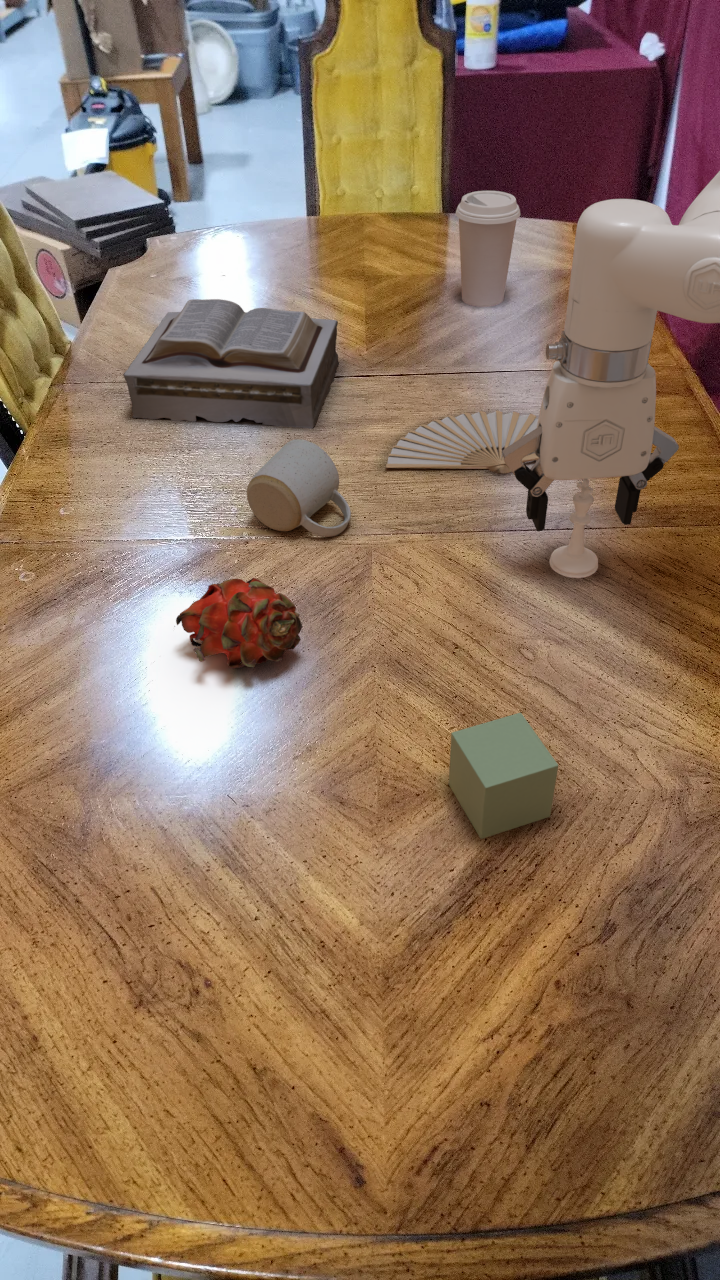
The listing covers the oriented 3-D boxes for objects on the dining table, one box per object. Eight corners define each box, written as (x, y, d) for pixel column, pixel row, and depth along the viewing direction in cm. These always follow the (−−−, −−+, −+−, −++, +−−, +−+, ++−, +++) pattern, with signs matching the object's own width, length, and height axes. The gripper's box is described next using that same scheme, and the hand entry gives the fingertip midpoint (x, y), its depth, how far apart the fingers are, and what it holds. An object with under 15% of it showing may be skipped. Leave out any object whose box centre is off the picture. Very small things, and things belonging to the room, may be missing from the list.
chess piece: (573, 584, 99) (586, 499, 93) (539, 561, 102) (549, 477, 96) (608, 566, 101) (623, 482, 95) (573, 544, 104) (585, 461, 98)
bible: (189, 342, 145) (180, 275, 139) (363, 366, 138) (362, 296, 131) (107, 415, 128) (93, 343, 122) (300, 447, 121) (295, 371, 115)
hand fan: (613, 466, 116) (574, 406, 127) (614, 460, 116) (575, 400, 127) (391, 487, 114) (371, 424, 125) (391, 481, 113) (371, 418, 124)
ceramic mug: (244, 525, 108) (238, 464, 103) (284, 489, 114) (280, 430, 109) (327, 553, 104) (325, 491, 99) (365, 514, 110) (365, 454, 105)
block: (514, 763, 81) (521, 711, 77) (550, 817, 77) (559, 765, 73) (448, 784, 80) (451, 732, 76) (480, 840, 75) (485, 787, 72)
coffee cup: (451, 287, 159) (455, 189, 149) (510, 287, 158) (518, 188, 149) (452, 311, 152) (457, 209, 142) (515, 311, 151) (524, 209, 141)
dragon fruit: (313, 681, 92) (194, 678, 95) (321, 592, 94) (204, 592, 97) (282, 660, 84) (154, 657, 87) (292, 564, 86) (166, 565, 89)
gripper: (516, 378, 84) (501, 548, 95) (717, 366, 85) (677, 535, 96) (498, 341, 89) (485, 505, 101) (686, 330, 90) (653, 494, 102)
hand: (579, 519), depth 98 cm, fingers open, 8 cm apart
